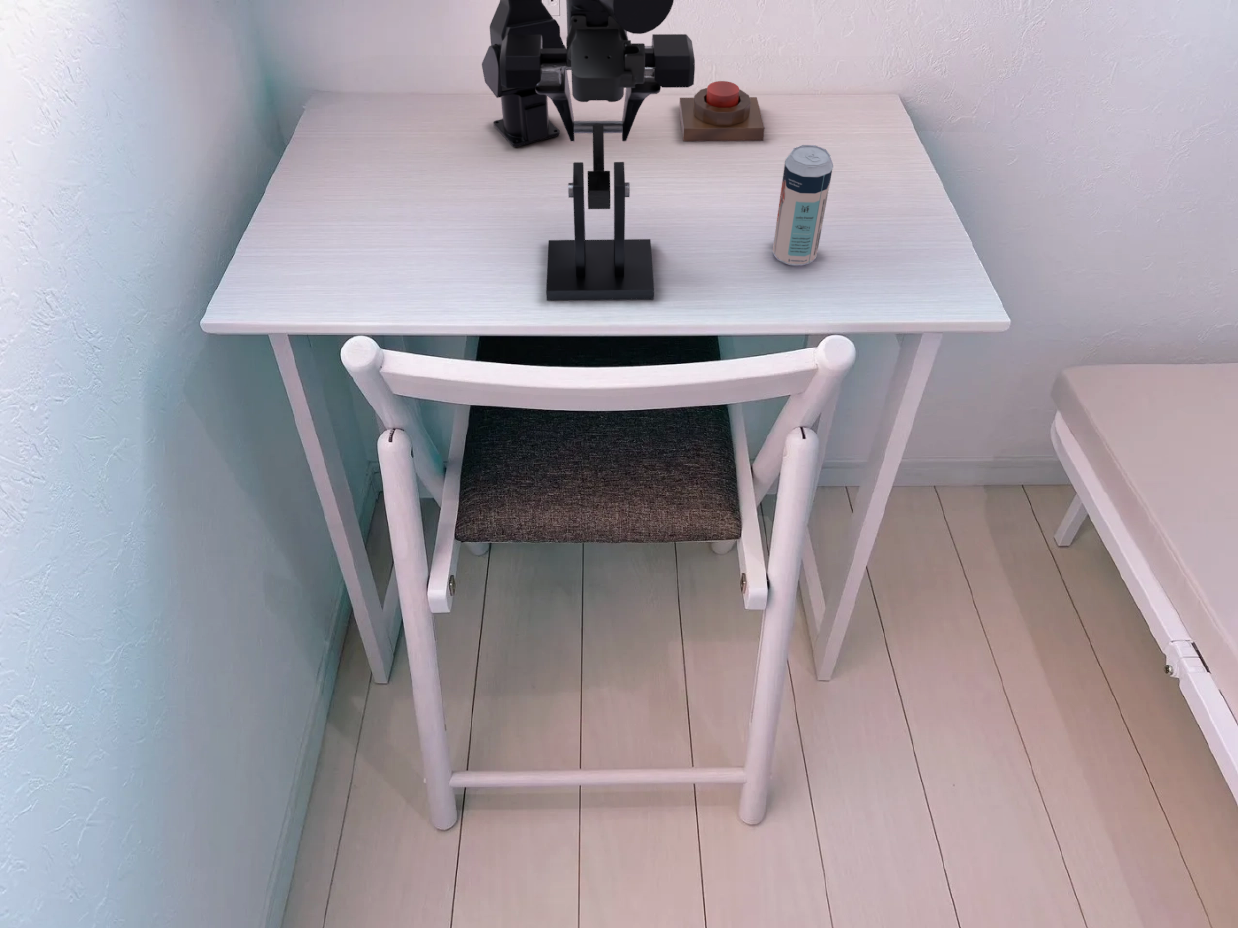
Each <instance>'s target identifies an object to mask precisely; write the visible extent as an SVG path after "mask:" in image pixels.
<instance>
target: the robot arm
mask: <svg viewBox="0 0 1238 928" xmlns="http://www.w3.org/2000/svg"><path fill="white" fill-rule="evenodd" d="M565 1H566V5H565V6H566V32H567V34H566V41H565V42H566V43H565V44H564V42H563V39H562V37H561V27H560V24H559V23H558V21H557V20H556V19H555V18H554V17H553V16H552V14H551V13H550V11H549V10H548V8H547V7H546V6H545V4H544V3H543V0H499V2H498V5H497V6H496V7H497V8H496V10H495V12H494V14H493V17H492V19H491V21H490V24H489V37H490V45H489V46H488V48H487V50H486V53H485V55H484V57H483V60H482V62H481V69H482V73H483V79H484V83H485V85H487V87H488V88H489V90H490V91H491V92H492V94H493V95H494V97H496V98H497V99H499V98H500V103H501V113H502V114H501V115H502V118H501V119H497V120H493V122H492V123H493V127H494V128H495V129H496V130H497V131H498V132H499V134H501V136H502V137H503V138H504V139H505V140H506V141H507V142H508V143H509V144H510V145H511V147H513V148H518V147H522V146H526V145H530V144H533V143H537V142H540V141H544V140H547V139H551V138H555V137H559V136H560V135H561V132H560V129H559V128H558V127H557V126H555V124H554V123H553V122H552V121H551V120H550V119H549V118H550V117H549V104H548V103H549V101H548V100H549V99H550V100H551V101H552V103H553V105H554V106H555V108H556V110H557V112H558V114H559V116H560V119H561V121H562V124H563V126H564V128H565V132H566V134H567V136H568V139H569V141H570V142H571V143H572V142H573V143H574V142H575V133H574V121H575V118H574V113H573V112H574V110H573V104H572V98H573V99H574V100H575V101H577V102H580V103H588V102H590V101H607V102H608V103H615V102H618V101H621V100H622V99H623V97H624V102H623V111H622V118H621V121H622V124H623V131H622V133H621V141H622V142H627V140H628V138H629V135H630V133H631V130H632V127H633V124H634V122H635V119H636V117H637V115H638V113H639V110H640V108H641V106H642V104H643V103H644V101H645V100H646V98H648V97H649V96H650V95H657V94H659V93H660V92H661V89H662V88H666V89H667V88H671V89H672V88H682V89H683V88H691V87H692V86H694V85H695V73H696V60H695V54H694V52H695V51H694V47H693V40H692V39H691V37H689V35H688V34H687V33H680V34H679V33H667V34H666V33H663V34H662V33H658V34H657V33H656V34H655V33H654V34H652V36H651V45H646V44H645V43H644V42H643V43H642V42H640V43H637V42H636V43H633V42H632V40H630V39H629V36H628V33H631V34H633V35H634V34H635V35H643V34H646V33H649V32H651V31H653V30H655V29H656V28H657V27H659V26H660V25H661V24H662V23H663V22H664V21H665V20H666V19H667V18H668V17H669V16H668V15H669V14H670V12H671V10H672V8H673V5H674V1H675V0H565ZM568 71H570V72H571V90H570V83H569V82H570V81H569V76H568ZM571 91H572V92H571ZM624 94H625V95H624ZM571 95H572V96H571ZM571 97H572V98H571ZM548 98H549V99H548Z"/></svg>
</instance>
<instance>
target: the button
mask: <svg viewBox="0 0 1238 928" xmlns="http://www.w3.org/2000/svg"><path fill="white" fill-rule="evenodd" d="M706 88H707V97H706V102H707V104H709V105H710V106H714V107H718V108H730V107H734V106H737V104H738V99H739V89H740V86H739V85H738V84H736V83H734V82H731V81H727V80H717V81H712V82H711V83H709V84H708V85H707V87H706Z"/></svg>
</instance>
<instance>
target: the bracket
mask: <svg viewBox="0 0 1238 928" xmlns="http://www.w3.org/2000/svg"><path fill="white" fill-rule="evenodd" d="M572 166H573V167H572V182H568V184H567V196H568V198H570V199H571V198H572V201H573V202H572V203H573V230H574V231H573V234H574V239H548V241H547V242H548V243H547V246H548V247H547V265H546V266H547V267H546V287H545V292H546V293H545V294H546V295H545V296H546V301H613V300H614V301H620V300H621V301H624V300H626V301H627V300H628V301H629V300H630V301H631V300H632V301H633V300H655V283H654V282H655V281H654V268H653V256H652V243H651V242H652V241H651V239H650V238H644V239H643V238H633V239H632V238H631V239H629V238H628V239H626V238H625V237H626V233H625V232H626V198H630V197H631V188H630V187H631V186H630V184H631V183H630V182H629V181H626V174H625V162H624V161H613V239H586V217H585V216H586V215H585V214H586V213H585V212H586V211H585V208H586V207H585V172H584V171H585V170H584V169H585V168H584V167H585V166H584V162H583V161H582V162H581V161H577V162H575V161H574V162H573V163H572Z"/></svg>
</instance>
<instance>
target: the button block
mask: <svg viewBox="0 0 1238 928" xmlns="http://www.w3.org/2000/svg"><path fill="white" fill-rule="evenodd" d="M706 97H707V87H705V88H701V89H700V90H699V91H697V92H696V93H695V95H694V97H679V103H678V105H679V106H678V111H679V120H680V128H681V134H682V141H683V142H715V141H716V142H721V141H722V142H728V141H729V142H730V141H731V142H733V141H736V142H738V141H739V142H741V141H743V142H744V141H749V142H750V141H764V134H765V125H764V121H763V117H762V113H761V108H760V105H759V100H758V97H757V96H750V95H749V94H747V93H746V92H745V91H743V90H742V89H740V88H739V99H738V104H737V106H734V107H730V108H718V107H714V106H710V105H709V104H707V102H706Z"/></svg>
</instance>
